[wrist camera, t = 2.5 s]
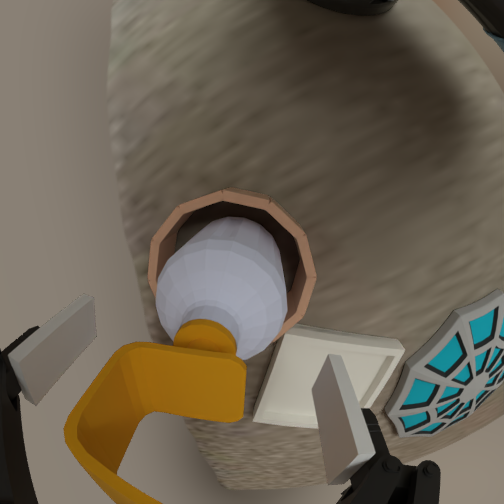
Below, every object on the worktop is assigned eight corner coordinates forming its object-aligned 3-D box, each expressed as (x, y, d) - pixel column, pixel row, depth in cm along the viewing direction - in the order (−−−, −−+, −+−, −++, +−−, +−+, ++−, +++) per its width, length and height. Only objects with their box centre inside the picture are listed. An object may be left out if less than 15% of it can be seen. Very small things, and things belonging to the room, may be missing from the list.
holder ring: (179, 176, 25) (160, 178, 20) (322, 208, 25) (334, 216, 21) (161, 304, 29) (145, 327, 24) (284, 333, 29) (287, 361, 25)
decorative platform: (427, 288, 28) (448, 306, 23) (534, 285, 27) (551, 296, 22) (363, 442, 36) (368, 463, 31) (474, 413, 35) (483, 427, 30)
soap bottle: (276, 304, 28) (286, 560, 5) (191, 297, 29) (77, 515, 5) (284, 219, 26) (379, 500, 2) (190, 213, 26) (-45, 378, 3)
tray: (283, 321, 29) (285, 333, 26) (397, 338, 29) (405, 349, 27) (253, 408, 33) (252, 421, 31) (350, 417, 33) (354, 429, 31)
